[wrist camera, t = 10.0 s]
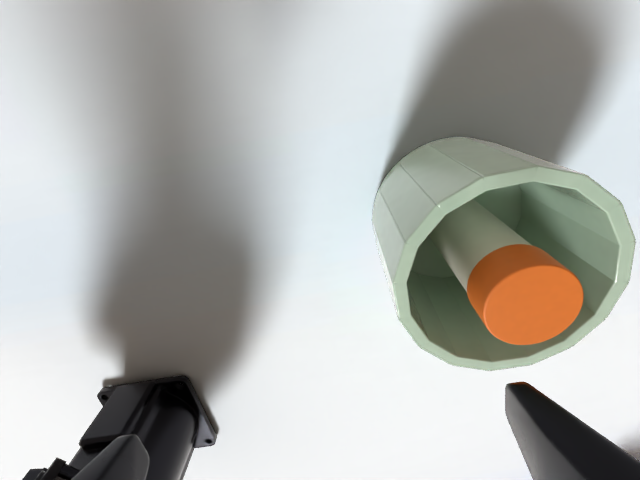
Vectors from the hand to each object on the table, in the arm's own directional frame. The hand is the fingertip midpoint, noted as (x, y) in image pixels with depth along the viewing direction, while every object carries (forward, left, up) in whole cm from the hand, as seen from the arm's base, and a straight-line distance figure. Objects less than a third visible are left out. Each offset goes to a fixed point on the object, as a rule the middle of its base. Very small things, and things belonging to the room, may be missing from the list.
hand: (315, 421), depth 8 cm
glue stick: (0, -7, -11) cm, 13 cm away
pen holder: (0, -7, -12) cm, 14 cm away
